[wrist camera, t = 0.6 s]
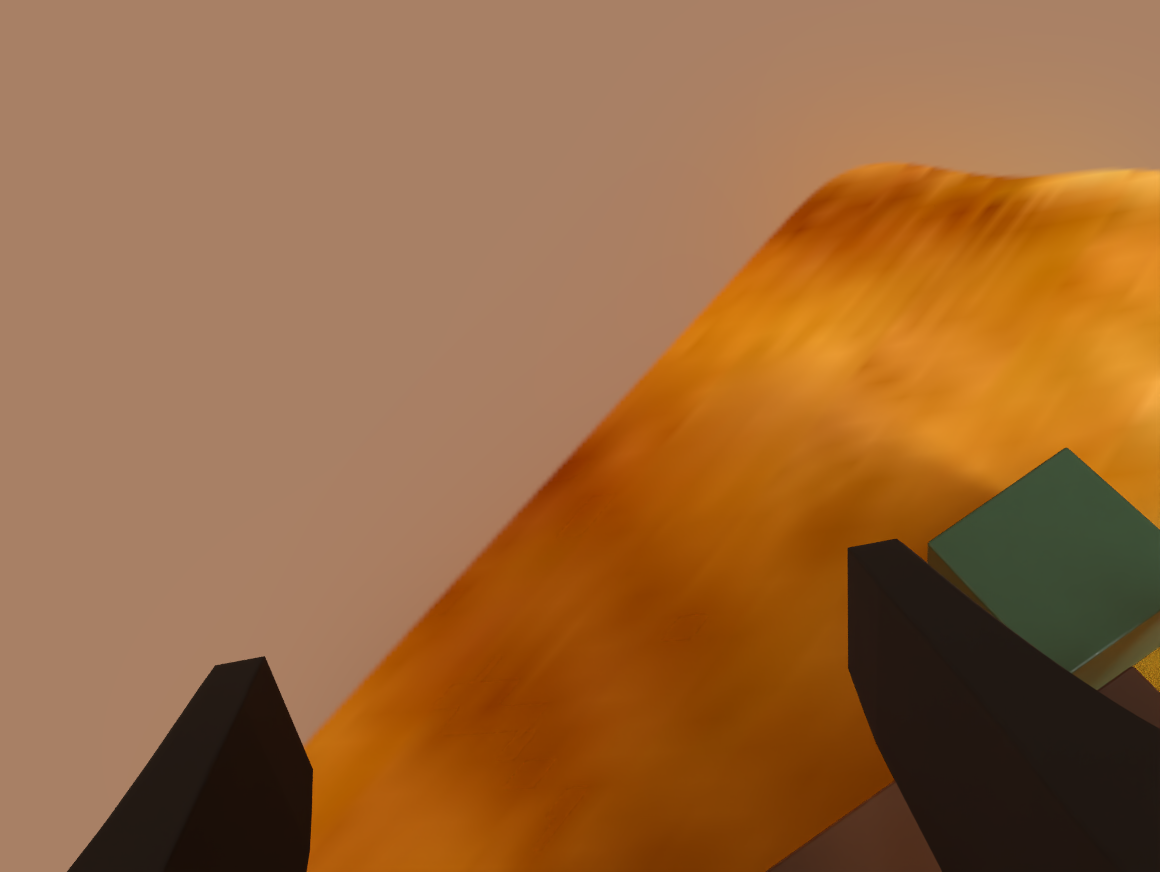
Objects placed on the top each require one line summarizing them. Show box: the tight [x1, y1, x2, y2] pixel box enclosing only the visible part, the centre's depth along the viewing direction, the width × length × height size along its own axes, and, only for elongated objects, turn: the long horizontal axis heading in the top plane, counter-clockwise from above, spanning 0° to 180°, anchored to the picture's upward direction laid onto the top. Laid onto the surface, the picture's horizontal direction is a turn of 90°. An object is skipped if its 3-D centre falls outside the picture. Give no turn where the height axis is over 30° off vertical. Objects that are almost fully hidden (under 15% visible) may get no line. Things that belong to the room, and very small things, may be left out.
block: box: [927, 448, 1160, 690], centre depth 26 cm, size 4×4×4 cm
